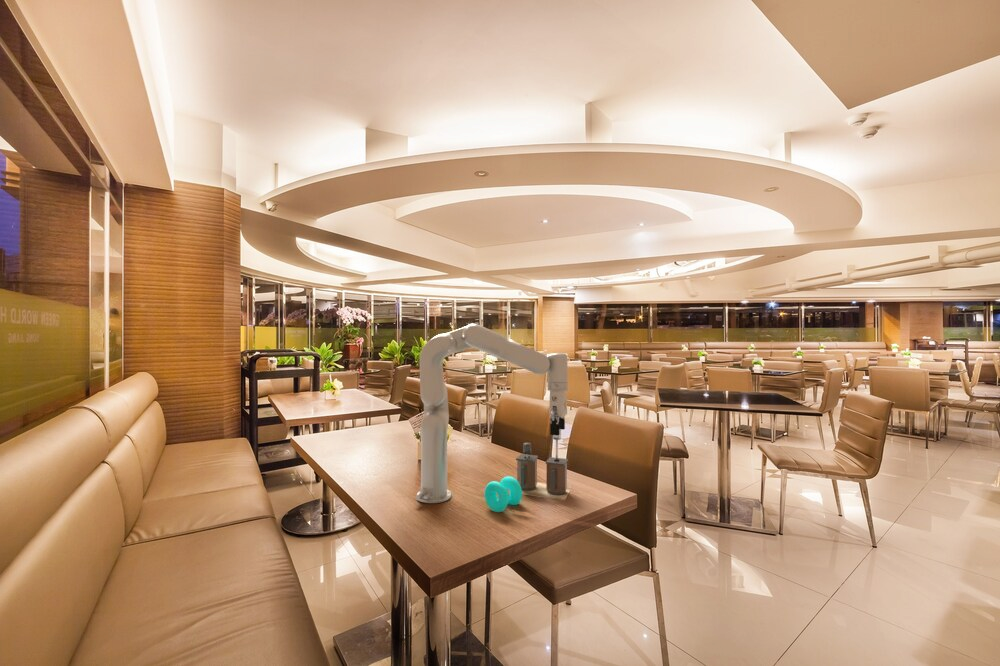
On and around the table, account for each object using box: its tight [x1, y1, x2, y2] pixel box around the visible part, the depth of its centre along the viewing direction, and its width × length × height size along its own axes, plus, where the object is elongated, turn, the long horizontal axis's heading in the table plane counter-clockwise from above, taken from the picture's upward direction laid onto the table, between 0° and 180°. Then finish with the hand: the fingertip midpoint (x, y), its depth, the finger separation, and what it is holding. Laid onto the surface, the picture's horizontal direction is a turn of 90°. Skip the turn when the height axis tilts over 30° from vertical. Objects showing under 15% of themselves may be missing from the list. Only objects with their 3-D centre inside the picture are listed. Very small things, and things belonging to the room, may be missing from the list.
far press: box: [515, 442, 539, 491], centre depth 157 cm, size 9×7×17 cm
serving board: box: [522, 481, 572, 501], centre depth 156 cm, size 14×20×1 cm
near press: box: [545, 456, 568, 495], centre depth 153 cm, size 9×7×12 cm
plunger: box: [552, 429, 562, 462], centre depth 155 cm, size 5×5×16 cm
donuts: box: [484, 476, 523, 513], centre depth 142 cm, size 10×10×10 cm
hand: (557, 432), depth 155 cm, fingers open, 9 cm apart
